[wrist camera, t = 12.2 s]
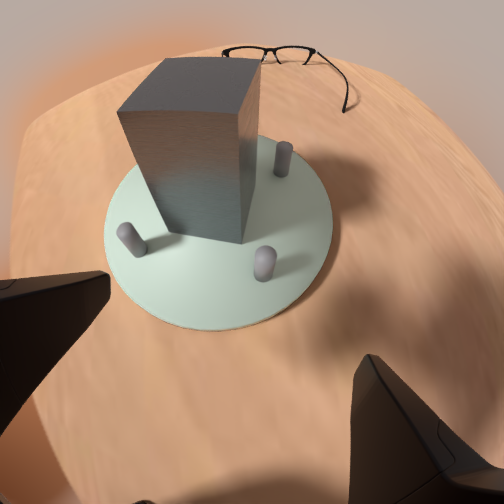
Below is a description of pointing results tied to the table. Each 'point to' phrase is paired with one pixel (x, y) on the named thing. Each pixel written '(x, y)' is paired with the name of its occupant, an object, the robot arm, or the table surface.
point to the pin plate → (224, 249)
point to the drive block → (198, 142)
